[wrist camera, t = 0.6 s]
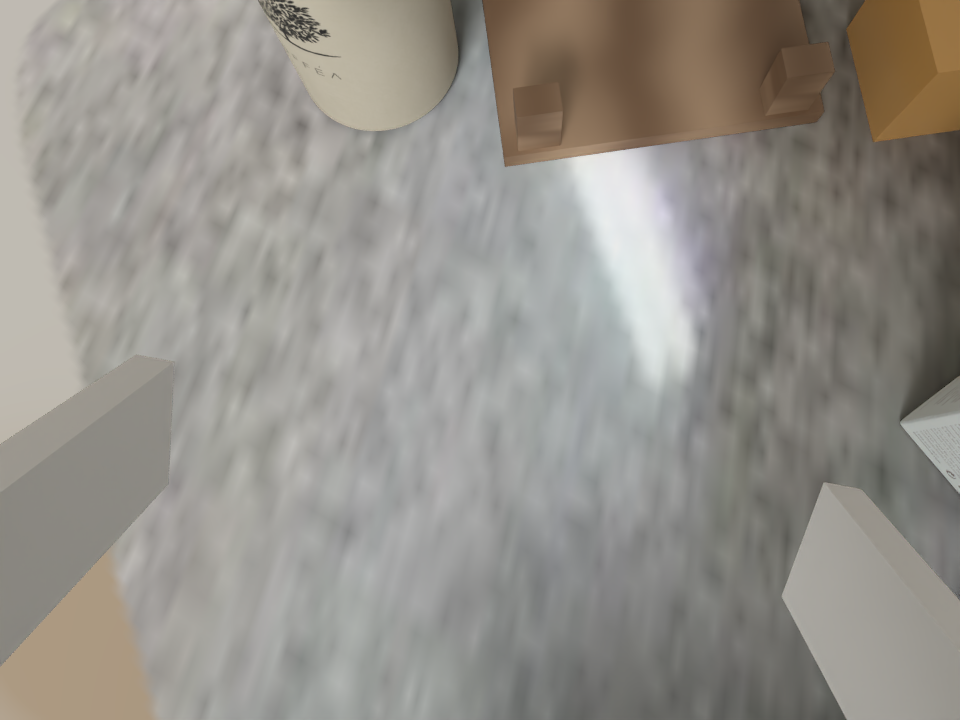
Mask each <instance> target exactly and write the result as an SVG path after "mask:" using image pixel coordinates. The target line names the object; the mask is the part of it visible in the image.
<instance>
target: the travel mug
mask: <svg viewBox="0 0 960 720" xmlns="http://www.w3.org/2000/svg"><path fill="white" fill-rule="evenodd" d="M258 1H259V3H260V5H261V7H262V9H263V11H264V12H265V14H266V16H267V18H268V20H269V22H270V23H271V25H272V27H273V29H274V31H275V33H276V34H277V36H278V38H279V40H280V42H281V43H282V45H283V47H284V49H285V51H286V53H287V54H288V56H289V58H290V60H291V62H292V64H293V65H294V67H295V69H296V71H297V73H298V75H299V76H300V78H301V80H302V82H303V84H304V86H305V87H306V89H307V91H308V93H309V95H310V96H311V98H312V100H313V101H314V103H315V104H316V105H317V106H318V107H319V108H320V110H322V111H323V112H324V113H325V114H326V115H327V116H329V117H330V118H331V119H333V120H335V121H337V122H338V123H341V124H343V125H345V126H348V127H351V128H355V129H359V130H365V131H384V130H391V129H395V128H399V127H402V126H405V125H408V124H410V123H412V122H414V121H416V120H418V119H420V118H421V117H423V116H424V115H426V114H427V113H428V112H430V111H431V110H432V109H433V108H434V107H435V106H436V105H437V104H438V103H439V102H440V101H441V100H442V98H443V97H444V96H445V94H446V93H447V91H448V90H449V88H450V86H451V84H452V82H453V79H454V77H455V74H456V70H457V65H458V43H457V37H456V30H455V24H454V18H453V12H452V6H451V0H258Z"/></svg>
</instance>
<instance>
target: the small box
mask: <svg viewBox="0 0 960 720" xmlns="http://www.w3.org/2000/svg"><path fill="white" fill-rule="evenodd" d="M900 424H901V426H902V427H903V428H904V429H905V431H906V432H907V433H908V434H909V435H910V437H911V438H912V439H913V440H914V441H915V442H916V444H917V445H918V446H919V447H920V448H921V449H922V451H923V452H924V453H925V454H926V456H927V457H928V458H929V459H930V460H931V461H932V462H933V463H934V465H935V466H936V467H937V468H938V469H939V471H940V472H941V473H942V474H943V475H944V476H945V477H946V479H947V480H948V481H949V482H950V483H951V485H952V486H953V487H954V488H955V489H956V490H957V491H958V493H959V494H960V376H958V377H957V378H956V379H954V380H953V381H952V382H950V383H949V384H948V385H946V386H945V387H944V388H943V389H941V390H940V391H939V392H937V393H936V394H935V395H933V396H932V397H931V398H929V399H928V400H927V401H925V402H924V403H923V404H922V405H920V406H919V407H918V408H916V409H915V410H914V411H913V412H911V413H910V414H909V415H908V416H906V417H905V418H904V419H902V420H901V422H900Z"/></svg>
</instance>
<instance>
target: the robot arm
mask: <svg viewBox="0 0 960 720" xmlns="http://www.w3.org/2000/svg"><path fill="white" fill-rule="evenodd" d="M173 382H174V362H173V361H168V360H162V359H157V358H152V357H146V356H141V355H135V356H133V357H132V358H130V359H129V360H127V361H126V362H124V363H123V364H121V365H120V366H118V367H117V368H115V369H114V370H112V371H111V372H109V373H108V374H106V375H105V376H103V377H101V378H100V379H98V380H97V381H95V382H94V383H92V384H91V385H89V386H88V387H86V388H85V389H83V390H82V391H80V392H79V393H77V394H76V395H74V396H73V397H71V398H70V399H68V400H67V401H65V402H64V403H62V404H60V405H59V406H57V407H56V408H54V409H53V410H51V411H50V412H48V413H47V414H45V415H44V416H42V417H41V418H39V419H38V420H36V421H35V422H33V423H32V424H30V425H29V426H27V427H26V428H24V429H22V430H21V431H19V432H18V433H16V434H15V435H13V436H12V437H10V438H9V439H7V440H6V441H4V442H3V443H1V444H0V666H1V665H2V664H3V663H4V662H5V661H6V660H7V659H8V658H9V656H10V655H11V654H12V653H13V652H14V651H15V650H16V649H17V648H18V647H19V646H20V644H21V643H22V642H23V641H24V640H25V639H26V638H27V637H28V636H29V635H30V634H31V632H33V630H34V629H35V628H36V627H37V626H38V625H39V624H40V623H41V622H42V621H43V620H44V619H45V617H46V616H47V615H48V614H49V613H50V612H51V611H52V610H53V609H54V608H55V607H56V605H57V604H58V603H59V602H60V601H61V600H62V599H63V598H64V597H65V596H66V595H67V593H68V592H69V591H70V590H71V589H72V588H73V587H74V586H75V585H76V584H77V583H78V582H79V581H80V579H81V578H82V577H83V576H84V575H85V574H86V573H87V572H88V571H89V570H90V569H91V567H92V566H93V565H94V564H95V563H96V562H97V561H98V560H99V559H100V558H101V557H102V555H103V554H104V553H105V552H106V551H107V550H108V549H109V548H110V547H111V546H112V545H113V544H114V543H115V541H116V540H117V539H118V538H119V537H120V536H121V535H122V534H123V533H124V532H125V531H126V529H127V528H128V527H129V526H130V525H131V524H132V523H133V522H134V521H135V520H136V519H137V518H138V516H139V515H140V514H141V513H142V512H143V511H144V510H145V509H146V508H147V507H148V506H149V505H150V503H151V502H152V501H153V500H154V499H155V498H156V497H157V496H158V495H159V494H160V493H161V491H162V490H163V489H164V488H165V487H166V486H167V485H168V484H169V464H170V444H171V423H172V403H173ZM782 598H783V600H784V602H785V604H786V606H787V608H788V610H789V611H790V613H791V615H792V617H793V619H794V621H795V623H796V625H797V627H798V628H799V630H800V632H801V634H802V636H803V638H804V640H805V642H806V644H807V646H808V647H809V649H810V651H811V653H812V655H813V657H814V659H815V661H816V663H817V664H818V666H819V668H820V670H821V672H822V674H823V676H824V678H825V680H826V681H827V683H828V685H829V687H830V689H831V691H832V693H833V695H834V697H835V698H836V700H837V702H838V704H839V706H840V708H841V710H842V712H843V714H844V715H845V717H846V719H847V720H960V600H959V599H958V598H957V597H956V596H955V595H954V594H953V592H952V591H951V590H950V589H949V588H948V587H947V586H946V584H945V583H944V582H943V581H942V580H941V579H940V578H939V577H938V575H937V574H936V573H935V572H934V571H933V570H932V569H931V567H930V566H929V565H928V564H927V563H926V562H925V561H924V560H923V558H922V557H921V556H920V555H919V554H918V553H917V552H916V550H915V549H914V548H913V547H912V546H911V545H910V544H909V543H908V541H907V540H906V539H905V538H904V537H903V536H902V535H901V533H900V532H899V531H898V530H897V529H896V528H895V527H894V526H893V524H892V523H891V522H890V521H889V520H888V519H887V518H886V516H885V515H884V514H883V513H882V512H881V511H880V510H879V509H878V507H877V506H876V505H875V504H874V503H873V502H872V501H871V499H870V498H869V497H868V496H867V495H866V494H865V493H864V492H863V490H862V489H858V488H852V487H847V486H842V485H836V484H831V483H825V482H824V483H823V486H822V489H821V491H820V494H819V497H818V499H817V502H816V505H815V508H814V510H813V513H812V516H811V518H810V521H809V524H808V526H807V529H806V532H805V535H804V537H803V540H802V543H801V545H800V548H799V551H798V553H797V556H796V559H795V562H794V564H793V567H792V570H791V572H790V575H789V578H788V581H787V583H786V586H785V589H784V591H783V594H782Z"/></svg>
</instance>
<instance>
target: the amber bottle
mask: <svg viewBox="0 0 960 720" xmlns="http://www.w3.org/2000/svg"><path fill="white" fill-rule="evenodd" d="M846 30H847V34H848V38H849V43H850V47H851V51H852V55H853V59H854V64H855V68H856V72H857V76H858V80H859V84H860V89H861V93H862V97H863V101H864V105H865V109H866V114H867V118H868V122H869V126H870V130H871V135H872V139H873V142H877V141H885V140H892V139H899V138H906V137H913V136H920V135H927V134H934V133H941V132H948V131H956V130H960V0H865V2H864V3H863V5H862V6H861V8H860V9H859V11H858V12H857V14H856V15H855V17H854V18H853V20H852V22H851V23H850V25H849V26H848V28H847V29H846Z"/></svg>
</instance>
